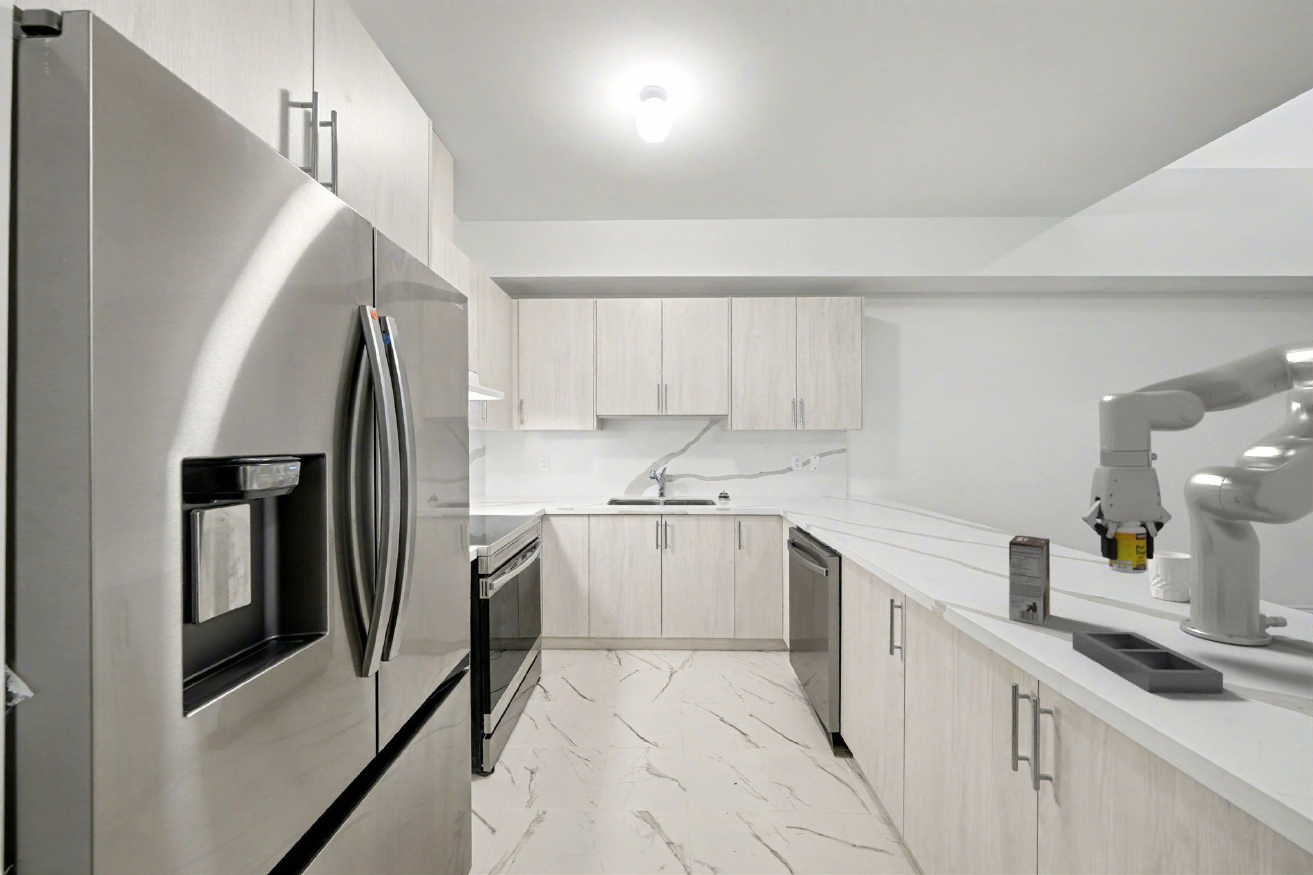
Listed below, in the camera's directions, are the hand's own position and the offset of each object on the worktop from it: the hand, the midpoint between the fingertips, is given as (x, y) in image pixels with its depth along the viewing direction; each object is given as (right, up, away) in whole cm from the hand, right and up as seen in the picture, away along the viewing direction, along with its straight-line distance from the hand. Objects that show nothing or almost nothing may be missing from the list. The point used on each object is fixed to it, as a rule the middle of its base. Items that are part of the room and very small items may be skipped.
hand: (1127, 557), depth 112 cm
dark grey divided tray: (-8, -16, -13) cm, 22 cm away
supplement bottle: (0, -3, 0) cm, 3 cm away
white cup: (+30, -15, +26) cm, 43 cm away
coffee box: (-10, -15, +14) cm, 23 cm away
